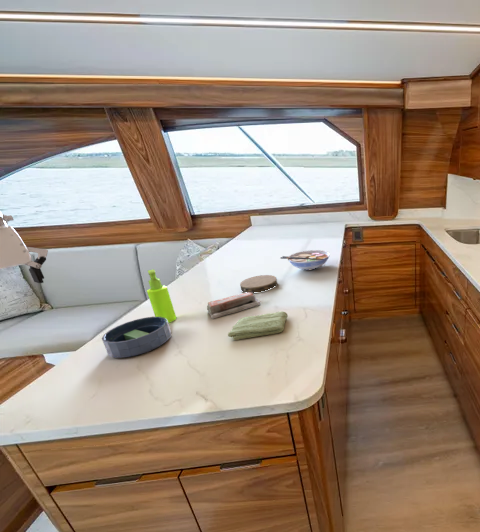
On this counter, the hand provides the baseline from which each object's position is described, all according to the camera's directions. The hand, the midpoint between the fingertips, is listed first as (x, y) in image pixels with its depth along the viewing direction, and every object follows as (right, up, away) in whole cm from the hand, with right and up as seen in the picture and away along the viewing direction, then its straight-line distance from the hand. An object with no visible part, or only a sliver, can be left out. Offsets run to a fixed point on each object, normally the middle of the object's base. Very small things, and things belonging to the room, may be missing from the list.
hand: (12, 289), depth 77 cm
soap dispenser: (+11, -15, +37) cm, 42 cm away
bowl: (+15, -20, +22) cm, 33 cm away
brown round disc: (+32, -4, +67) cm, 74 cm away
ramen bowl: (+50, +5, +91) cm, 104 cm away
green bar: (+15, -19, +21) cm, 32 cm away
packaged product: (+32, -11, +45) cm, 57 cm away
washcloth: (+50, -16, +29) cm, 61 cm away
